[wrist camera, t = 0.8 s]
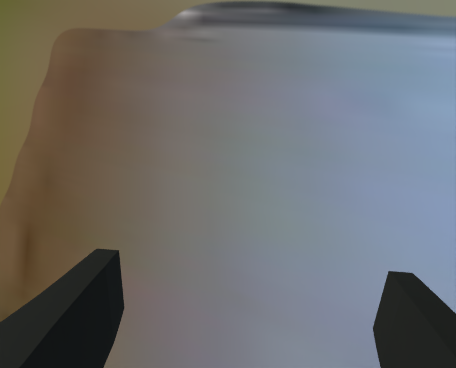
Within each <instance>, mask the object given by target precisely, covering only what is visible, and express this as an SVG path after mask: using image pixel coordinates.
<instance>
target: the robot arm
mask: <svg viewBox="0 0 456 368" xmlns="http://www.w3.org/2000/svg"><path fill="white" fill-rule="evenodd" d="M123 311H124V300H123V289H122V279H121V268H120V257H119V250H107V249H96V250H94V251H93V252H92V253H91V254H89V255H88V256H87V257H86V258H84V259H83V260H82V261H81V262H79V263H78V264H77V265H76V266H75V267H73V268H72V269H71V270H70V271H68V272H67V273H66V274H65V275H63V276H62V277H61V278H60V279H58V280H57V281H56V282H55V283H53V284H52V285H51V286H50V287H48V288H47V289H46V290H44V291H43V292H42V293H41V294H39V295H38V296H37V297H35V298H34V299H32V300H31V301H30V302H28V303H27V304H25V305H24V306H23V307H21V308H20V309H18V310H17V311H16V312H14V313H13V314H11V315H10V316H9V317H7V318H6V319H5V320H3V321H2V322H0V368H103V367H104V365H105V362H106V360H107V358H108V355H109V353H110V351H111V348H112V346H113V344H114V341H115V338H116V334H117V331H118V328H119V325H120V321H121V318H122V314H123ZM373 332H374V337H375V343H376V348H377V353H378V358H379V362H380V366H381V368H456V313H455V312H453V311H452V310H451V309H450V308H449V307H448V306H447V305H446V304H445V303H444V302H443V301H442V300H441V299H440V298H439V297H438V296H437V295H436V294H435V293H433V292H432V291H431V290H430V289H429V288H428V287H427V286H426V285H425V284H424V283H423V282H422V281H421V280H420V279H419V278H417V277H416V276H415V275H414V274H413V273H406V272H393V271H389V272H388V275H387V279H386V283H385V286H384V290H383V293H382V297H381V301H380V304H379V308H378V312H377V315H376V319H375V322H374V326H373Z"/></svg>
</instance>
